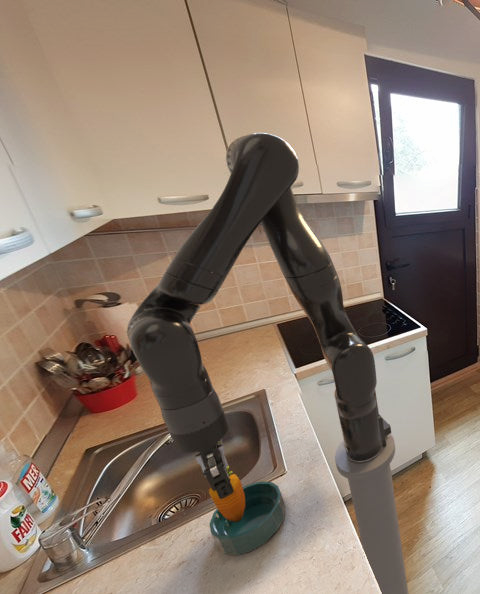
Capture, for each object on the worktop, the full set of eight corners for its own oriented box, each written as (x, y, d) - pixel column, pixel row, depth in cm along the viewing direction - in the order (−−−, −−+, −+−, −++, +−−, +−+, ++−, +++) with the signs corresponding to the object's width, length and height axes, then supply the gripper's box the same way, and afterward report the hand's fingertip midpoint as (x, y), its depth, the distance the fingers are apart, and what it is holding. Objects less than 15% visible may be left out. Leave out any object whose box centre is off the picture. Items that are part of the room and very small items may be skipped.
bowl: (277, 488, 78) (272, 471, 76) (293, 526, 70) (287, 508, 68) (214, 524, 70) (206, 506, 68) (223, 571, 62) (214, 553, 60)
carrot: (218, 529, 66) (193, 476, 60) (240, 506, 70) (219, 455, 65) (238, 536, 65) (214, 482, 59) (259, 512, 69) (239, 460, 64)
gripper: (229, 428, 55) (255, 498, 61) (216, 388, 64) (240, 452, 71) (169, 453, 50) (205, 526, 57) (165, 406, 60) (196, 473, 66)
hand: (224, 485), depth 64 cm, fingers closed on carrot, 4 cm apart
